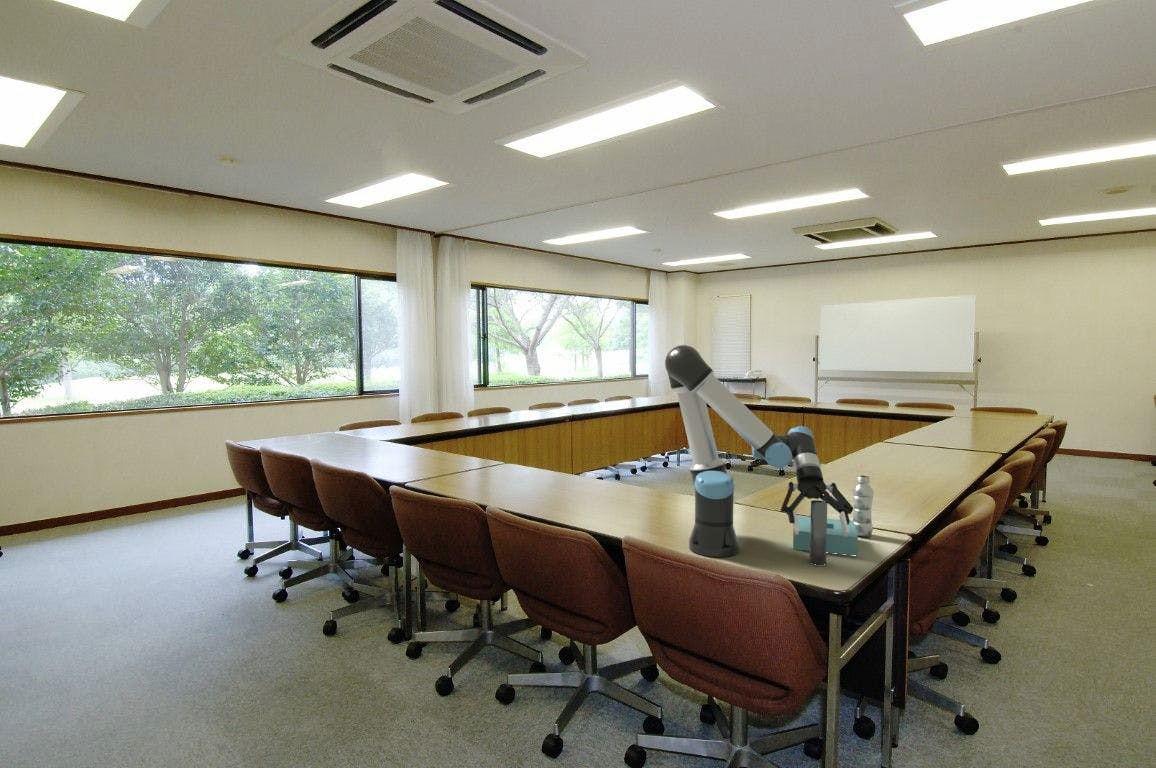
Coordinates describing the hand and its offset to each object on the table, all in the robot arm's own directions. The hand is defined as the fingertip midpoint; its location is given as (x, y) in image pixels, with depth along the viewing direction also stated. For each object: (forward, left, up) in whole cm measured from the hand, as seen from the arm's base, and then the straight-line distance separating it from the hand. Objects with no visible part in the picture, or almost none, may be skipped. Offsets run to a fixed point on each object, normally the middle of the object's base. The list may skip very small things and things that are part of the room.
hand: (822, 533), depth 165 cm
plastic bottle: (+13, +34, -9) cm, 38 cm away
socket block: (+1, +20, -9) cm, 22 cm away
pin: (-1, +1, -9) cm, 9 cm away
